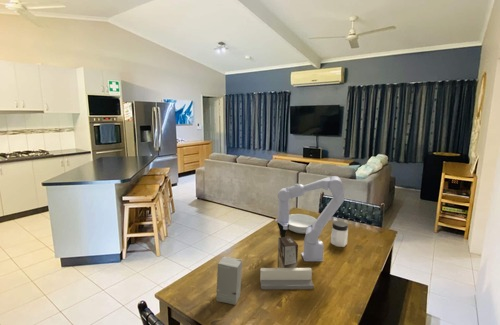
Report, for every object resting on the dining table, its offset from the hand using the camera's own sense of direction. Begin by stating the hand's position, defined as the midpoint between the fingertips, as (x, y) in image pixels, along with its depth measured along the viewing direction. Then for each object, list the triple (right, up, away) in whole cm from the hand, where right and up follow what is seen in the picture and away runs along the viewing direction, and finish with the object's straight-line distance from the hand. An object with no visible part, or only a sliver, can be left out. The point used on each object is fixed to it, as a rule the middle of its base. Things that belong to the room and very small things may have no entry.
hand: (282, 236), depth 139 cm
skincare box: (-25, -15, -32) cm, 44 cm away
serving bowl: (+15, -5, +31) cm, 35 cm away
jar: (+34, -8, +14) cm, 37 cm away
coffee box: (0, -13, -16) cm, 20 cm away
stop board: (-1, -14, -24) cm, 28 cm away
